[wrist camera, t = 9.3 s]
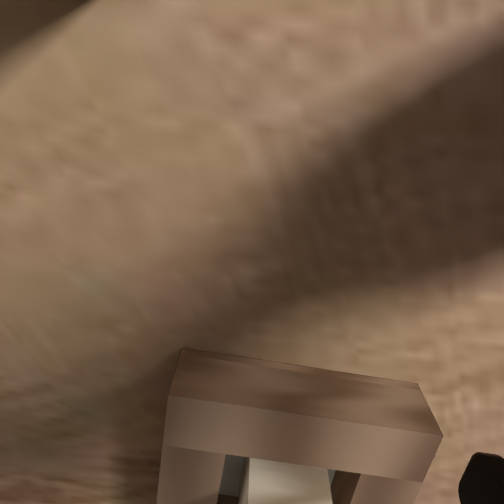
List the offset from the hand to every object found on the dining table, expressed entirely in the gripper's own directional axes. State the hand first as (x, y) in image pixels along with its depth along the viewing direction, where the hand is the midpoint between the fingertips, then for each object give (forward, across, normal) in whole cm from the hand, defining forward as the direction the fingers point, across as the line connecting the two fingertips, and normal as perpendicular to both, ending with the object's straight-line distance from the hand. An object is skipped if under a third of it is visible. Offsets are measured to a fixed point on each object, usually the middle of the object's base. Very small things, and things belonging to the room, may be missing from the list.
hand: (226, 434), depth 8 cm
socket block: (+12, -4, +14) cm, 19 cm away
